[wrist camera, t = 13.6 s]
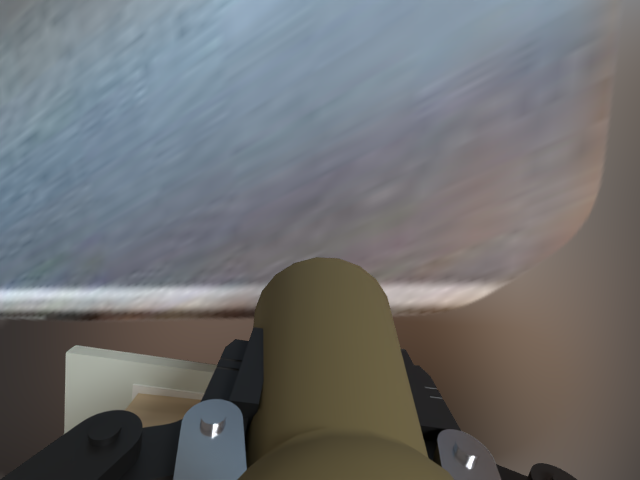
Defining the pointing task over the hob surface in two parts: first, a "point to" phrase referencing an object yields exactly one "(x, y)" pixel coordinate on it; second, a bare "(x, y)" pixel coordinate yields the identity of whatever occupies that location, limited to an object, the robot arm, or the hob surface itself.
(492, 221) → the hob surface
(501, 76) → the hob surface
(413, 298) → the hob surface
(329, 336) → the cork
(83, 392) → the board
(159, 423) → the oak block
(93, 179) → the hob surface
